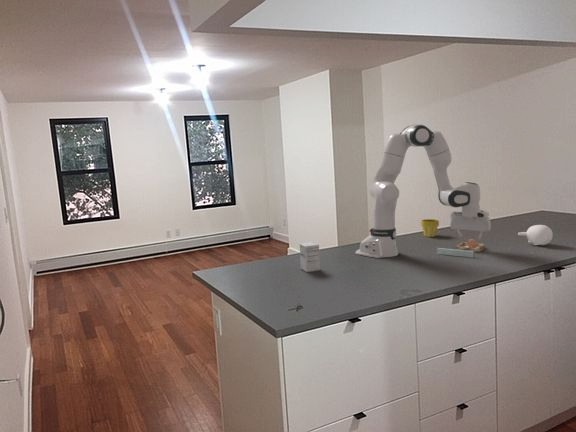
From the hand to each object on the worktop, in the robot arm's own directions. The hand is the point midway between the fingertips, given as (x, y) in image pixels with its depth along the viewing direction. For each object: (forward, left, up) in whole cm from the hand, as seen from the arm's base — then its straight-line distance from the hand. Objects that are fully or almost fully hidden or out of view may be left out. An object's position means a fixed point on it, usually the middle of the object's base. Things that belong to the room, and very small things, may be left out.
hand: (469, 238), depth 256 cm
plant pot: (-31, +25, -6) cm, 40 cm away
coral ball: (+1, 0, -3) cm, 3 cm away
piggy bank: (+28, +26, -6) cm, 39 cm away
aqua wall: (-3, -17, -6) cm, 18 cm away
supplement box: (-55, -73, -6) cm, 91 cm away
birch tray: (0, 0, -6) cm, 6 cm away
